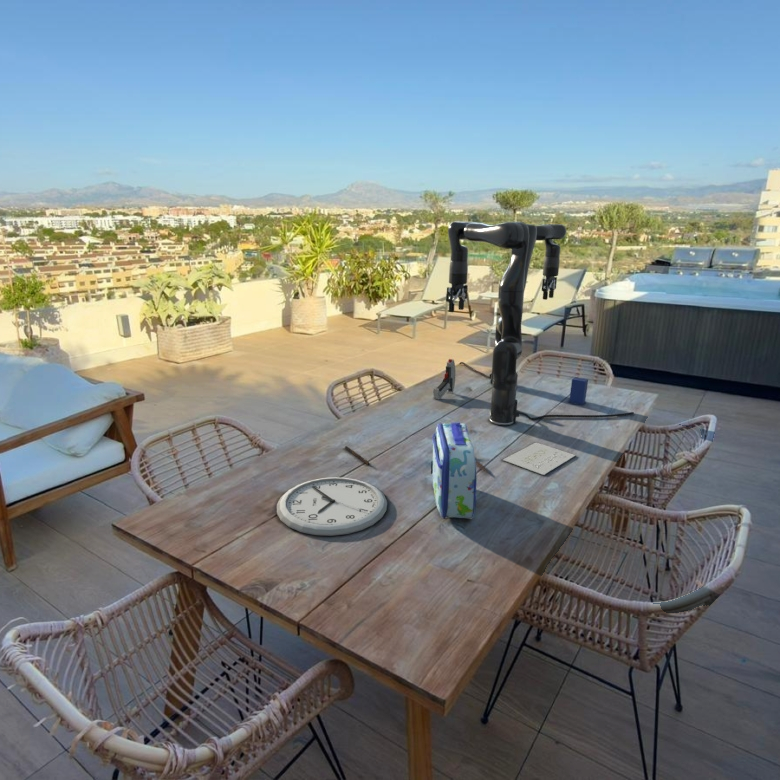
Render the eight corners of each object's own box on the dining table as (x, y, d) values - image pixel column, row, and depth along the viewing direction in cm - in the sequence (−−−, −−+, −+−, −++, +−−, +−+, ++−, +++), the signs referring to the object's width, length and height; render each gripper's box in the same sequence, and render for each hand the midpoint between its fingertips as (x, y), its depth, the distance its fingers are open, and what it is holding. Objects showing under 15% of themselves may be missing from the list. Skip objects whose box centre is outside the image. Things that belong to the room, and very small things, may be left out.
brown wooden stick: (344, 448, 179) (344, 445, 179) (346, 448, 179) (346, 445, 179) (367, 464, 167) (367, 462, 167) (368, 464, 167) (368, 461, 167)
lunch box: (429, 478, 158) (432, 413, 152) (464, 479, 158) (468, 414, 152) (435, 525, 134) (438, 450, 127) (477, 526, 133) (482, 451, 127)
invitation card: (535, 442, 186) (575, 454, 176) (535, 442, 187) (575, 455, 176) (502, 459, 172) (543, 474, 162) (502, 460, 172) (543, 475, 162)
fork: (483, 474, 162) (483, 469, 161) (463, 454, 176) (463, 448, 176) (491, 474, 162) (491, 468, 162) (470, 453, 177) (470, 447, 176)
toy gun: (433, 366, 227) (451, 357, 238) (433, 400, 233) (450, 390, 244) (438, 367, 226) (455, 358, 237) (438, 401, 232) (455, 391, 243)
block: (572, 400, 235) (574, 377, 231) (585, 402, 231) (588, 379, 228) (569, 402, 231) (572, 379, 228) (582, 405, 228) (585, 381, 225)
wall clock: (392, 527, 129) (268, 531, 127) (391, 533, 130) (269, 537, 127) (383, 473, 158) (282, 475, 155) (383, 478, 158) (282, 480, 156)
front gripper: (458, 270, 226) (456, 308, 231) (441, 272, 215) (440, 311, 220) (474, 271, 222) (471, 309, 226) (458, 273, 211) (455, 313, 215)
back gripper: (548, 265, 269) (545, 296, 274) (538, 266, 258) (535, 299, 263) (563, 265, 265) (559, 297, 270) (553, 267, 254) (550, 300, 259)
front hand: (456, 310), depth 223 cm, fingers open, 8 cm apart
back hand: (547, 298), depth 267 cm, fingers open, 8 cm apart
